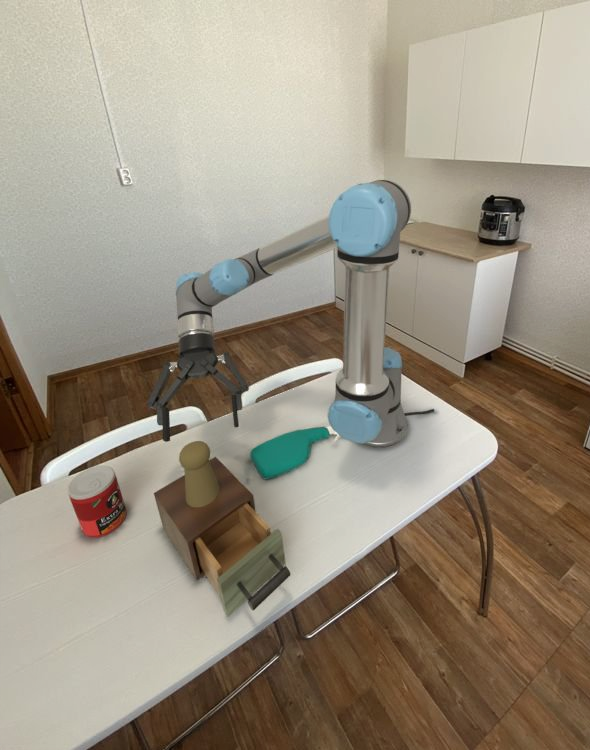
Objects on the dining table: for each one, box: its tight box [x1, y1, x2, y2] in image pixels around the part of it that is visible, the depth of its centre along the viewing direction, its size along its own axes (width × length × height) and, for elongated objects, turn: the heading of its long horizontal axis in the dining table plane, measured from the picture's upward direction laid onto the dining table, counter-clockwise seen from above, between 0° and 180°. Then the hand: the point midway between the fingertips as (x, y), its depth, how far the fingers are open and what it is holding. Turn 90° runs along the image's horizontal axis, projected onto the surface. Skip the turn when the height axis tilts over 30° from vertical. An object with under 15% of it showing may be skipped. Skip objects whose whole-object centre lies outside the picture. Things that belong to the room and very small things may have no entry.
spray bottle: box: [250, 424, 341, 480], centre depth 96 cm, size 3×11×24 cm
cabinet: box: [153, 456, 257, 581], centre depth 74 cm, size 15×13×10 cm
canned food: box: [67, 465, 127, 539], centre depth 76 cm, size 8×8×11 cm
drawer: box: [193, 503, 292, 617], centre depth 66 cm, size 18×11×8 cm, turn 47°
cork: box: [178, 440, 220, 507], centre depth 71 cm, size 6×6×11 cm
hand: (202, 433), depth 79 cm, fingers open, 13 cm apart
